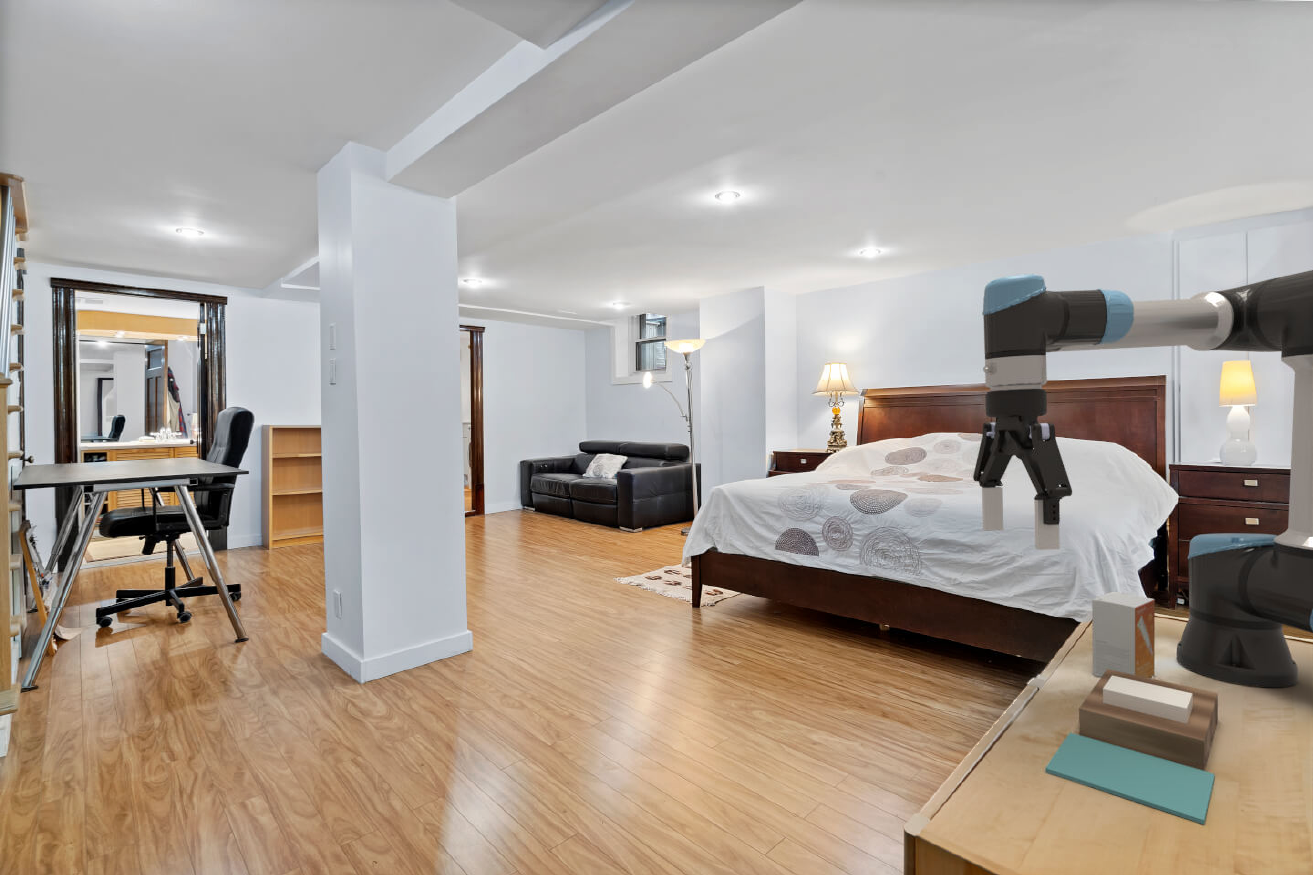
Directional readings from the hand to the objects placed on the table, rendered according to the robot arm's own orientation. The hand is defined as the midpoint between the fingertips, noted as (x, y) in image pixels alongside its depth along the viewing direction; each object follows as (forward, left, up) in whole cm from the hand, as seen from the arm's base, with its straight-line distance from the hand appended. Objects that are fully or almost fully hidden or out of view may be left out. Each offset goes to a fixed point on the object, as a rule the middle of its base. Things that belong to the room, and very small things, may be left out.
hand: (1018, 539), depth 89 cm
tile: (-15, +4, -23) cm, 28 cm away
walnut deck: (-17, +3, -27) cm, 32 cm away
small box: (-28, -14, -27) cm, 41 cm away
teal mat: (-5, +13, -27) cm, 30 cm away
